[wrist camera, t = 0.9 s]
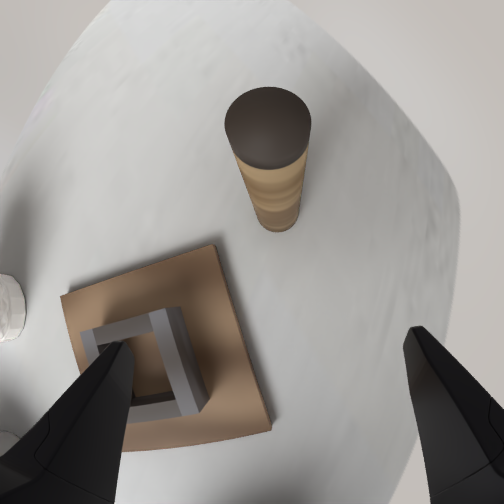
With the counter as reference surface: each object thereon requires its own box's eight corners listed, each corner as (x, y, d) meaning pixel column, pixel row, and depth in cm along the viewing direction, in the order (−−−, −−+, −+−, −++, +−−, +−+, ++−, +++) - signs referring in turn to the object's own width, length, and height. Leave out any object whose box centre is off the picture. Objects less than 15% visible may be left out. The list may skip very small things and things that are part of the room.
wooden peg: (303, 224, 23) (324, 144, 10) (263, 237, 23) (238, 170, 10) (290, 187, 23) (293, 78, 11) (251, 199, 24) (215, 100, 11)
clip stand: (272, 425, 21) (269, 448, 17) (115, 448, 22) (93, 466, 18) (215, 246, 23) (201, 236, 19) (66, 296, 24) (37, 295, 20)
